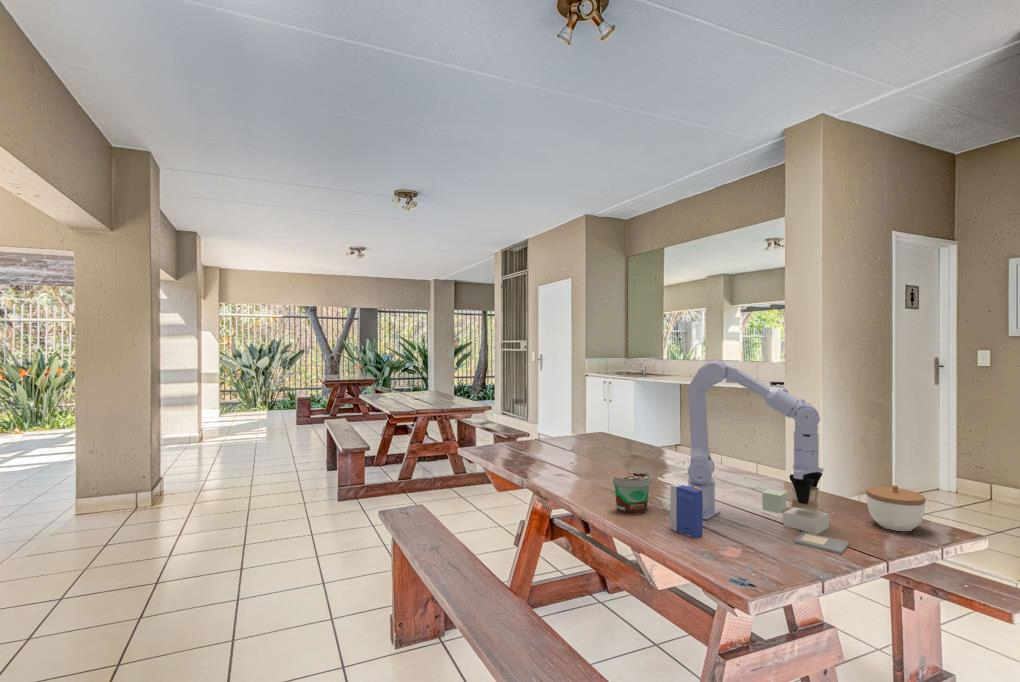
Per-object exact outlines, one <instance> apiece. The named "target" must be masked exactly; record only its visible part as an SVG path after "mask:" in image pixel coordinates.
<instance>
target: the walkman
mask: <svg viewBox="0 0 1020 682" xmlns="http://www.w3.org/2000/svg"><path fill="white" fill-rule="evenodd" d="M669 502H670V506H669V507H670V510H669V512H670V517H669V518H670V519H669V520H670V521H669V524H670V525H669V526H670V530H671V529H673V530H676V531H679V532H682V533H684V534H683V535H685V534H687V535H686V536H688V535H690V536H689V537H691V536H692V537H691V538H693V537H694V538H693V539H698V538H701V537H703V519H702V490H699V488H696V487H694V488H692V487H688V485H683V484H680V483H675V484H671V485H670V501H669ZM673 530H672V531H673ZM676 531H675V532H676ZM679 532H678V533H679ZM682 533H681V534H682Z"/></svg>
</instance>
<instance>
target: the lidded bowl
mask: <svg viewBox="0 0 1020 682" xmlns="http://www.w3.org/2000/svg"><path fill="white" fill-rule="evenodd" d="M865 491H866V504H867V508H868V512H869V514H870V516H871V517H872V519H873V521H875V522H876V523H877V524H878V526H879V525H880V526H882V527H884V528H888V529H894V530H899V531H911V532H913V530H914V529H915V528H917V527H918V526H919V525H920V524H921V523H922V521H923V519H924V516H925V511H926V510H925V509H926V508H925V507H926V497H925V495H923V494H922V493H919V492H917V491H913V490H908V489H905V488H900V487H899V485H894V484H892V485H891V486H870V487H867V488H866V490H865ZM880 526H879V527H880ZM882 527H881V528H882ZM884 528H883V529H884Z"/></svg>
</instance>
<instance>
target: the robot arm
mask: <svg viewBox="0 0 1020 682" xmlns="http://www.w3.org/2000/svg"><path fill="white" fill-rule="evenodd" d="M725 379H726V380H725ZM723 380H725V383H727V384H729V383H730V384H733V383H734V384H739V385H741V386H742V387H743V388H746V389H747V390H749V391H752V393H755V394H757V395H758V396H760V397H762V398H763V399H764V401H765V404H766V406H768V407H770V408H771V409H772V410H773V409H774V410H775V411H776V412H778V413H780V414H781V415H783V416H784V417H787V418H789V419H790V418H792V419H793V421H794V432H793V465H792V469H793V474H790V475H789V480H790V481H791V484H792V486H793V487H794V488H795V492H796V496H797V500H798V503H802V504H808V501H809V495H810V490H811V486H812V487H817V488H818V483H819V482H820V479H821V478H822V477H823V472H824V471H825V469H824V468H823V467H820V466H819V452H820V451H819V448H820V447H819V440H820V439H819V432H818V431H819V426H818V425H819V423H820V421H821V417H820V414H819V412H818V410H817V409H816V407H814V405H812V403H809V402H806V400H805V399H803V398H801V399H800V398H798V397H797V396H794V395H793V394H791V393H790V392H789V390H788V389H787V388H786V387H782V388H781V387H769V386H768V385H766V384H764V383H763V382H761V381H760V380H758V379H756V378H755V377H753V376H752V375H750V374H748V373H746V372H745V371H743V370H742V369H740V368H738V367H736V366H733V365H732V364H729V363H727V364H726V363H725V362H724V361H723V360H720V359H713V360H711V361H708V362H706V363H704V364H703V365H702V366H700V367H699V368H698V370H697V372H696V373H695V375H694V377H693V378H692V379H691V381H690V382H689V384H688V386H687V395H688V396H687V397H688V410H689V411H688V412H689V413H688V414H689V428H690V431H689V432H690V444H691V446H690V447H691V450H690V464H689V466H688V469H687V474H688V479H687V480H688V481H687V483H688V484H687V486H688V487H692V488H694V487H696V488H699V490H702V520H706V521H707V520H709V519H711V518H713V517H715V516H716V515H718V514H719V513H721V510H720V509H718V508H716V481H715V479H714V478H713V476H712V475H713V473H714V471H715V463H714V460H713V459H712V456H711V450H710V443H709V429H708V413H707V411H708V410H707V399H706V398H707V396H706V393H707V392H708V391H710V389H711V388H712V387H713V386H716V385H717V384H719V383H721V382H723Z"/></svg>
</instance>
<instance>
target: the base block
mask: <svg viewBox="0 0 1020 682" xmlns="http://www.w3.org/2000/svg"><path fill="white" fill-rule="evenodd" d="M829 522H830V514H829V513H826V512H822V511H819V510H814V511H811V510H806V509H801V508H796V507H792V508H791V509H788V510H785V511H783V527H784V526H789V527H792V528H796V529H799V530H802V531H801V532H803V531H805V532H808V533H812V534H816V535H820V534H821V533H822V532H824V531H826V530H828V529H829V528H830V527H829V526H830V523H829ZM792 528H791V529H792ZM799 530H798V531H799Z"/></svg>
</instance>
